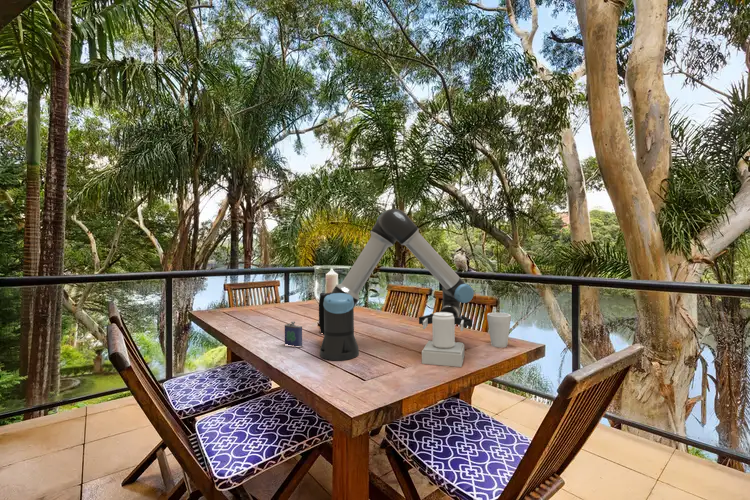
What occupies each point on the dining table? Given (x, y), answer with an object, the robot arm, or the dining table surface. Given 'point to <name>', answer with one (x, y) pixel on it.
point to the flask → (293, 334)
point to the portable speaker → (322, 311)
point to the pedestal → (443, 355)
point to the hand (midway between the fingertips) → (442, 326)
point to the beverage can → (443, 330)
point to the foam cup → (499, 328)
